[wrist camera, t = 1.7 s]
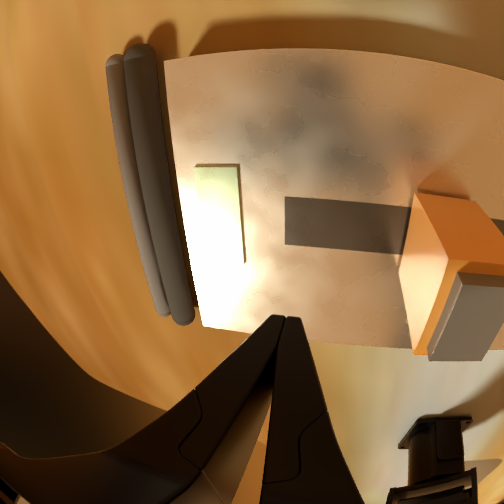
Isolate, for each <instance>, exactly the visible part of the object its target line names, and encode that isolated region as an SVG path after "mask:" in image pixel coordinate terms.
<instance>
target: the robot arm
mask: <svg viewBox="0 0 504 504" xmlns="http://www.w3.org/2000/svg"><path fill="white" fill-rule="evenodd" d="M195 389H196V390H195ZM195 389H193V390H192V391H191V392H190V393H188V394H187V395H186V396H185V397H184V398H183V399H182V400H181V401H179V402H178V403H177V404H176V405H175V406H173V407H172V408H171V409H170V410H168V411H167V412H166V413H164V414H163V415H162V416H160V417H159V418H158V419H156V420H155V421H153V422H152V423H150V424H149V425H147V426H146V427H144V428H143V429H141V430H140V431H138V432H137V433H135V434H134V435H132V436H131V437H129V438H128V439H126V440H124V441H123V442H121V443H119V444H118V445H116V446H114V447H112V448H109V449H107V450H104V451H100V452H95V453H89V454H82V455H74V456H66V457H57V458H47V459H29V458H23V457H21V456H18V455H17V454H16V453H14V452H13V451H12V450H11V449H10V448H8V447H7V446H6V445H5V444H3V443H0V504H231V503H232V500H233V498H234V496H235V493H236V491H237V489H238V486H239V484H240V481H241V479H242V477H243V474H244V471H245V469H246V467H247V464H248V462H249V459H250V457H251V454H252V452H253V449H254V446H255V444H256V441H257V439H258V436H259V433H260V431H261V428H262V425H263V423H264V420H265V417H266V415H267V412H268V409H269V406H270V404H271V411H270V421H269V430H268V439H267V448H266V456H265V464H264V473H263V481H262V489H261V495H260V502H259V504H365V503H364V501H363V499H362V497H361V495H360V493H359V491H358V489H357V486H356V484H355V482H354V480H353V477H352V475H351V473H350V471H349V468H348V466H347V464H346V462H345V459H344V457H343V455H342V452H341V450H340V447H339V445H338V442H337V439H336V436H335V433H334V430H333V427H332V423H331V420H330V416H329V413H328V412H327V406H326V402H325V399H324V395H323V392H322V388H321V384H320V381H319V377H318V374H317V370H316V367H315V363H314V360H313V357H312V353H311V350H310V346H309V343H308V339H307V336H306V333H305V329H304V326H303V323H302V319H301V318H300V317H295V316H287V317H285V316H284V315H277V314H272V315H270V316H269V317H268V318H267V319H266V320H265V321H264V322H263V323H262V324H261V325H260V326H259V327H258V328H257V329H256V330H255V331H254V332H253V333H252V334H251V335H250V336H249V337H248V338H247V339H246V340H245V341H244V342H243V343H242V344H241V345H240V346H239V347H238V348H237V349H236V350H235V351H234V352H232V353H231V354H230V355H229V356H228V357H227V358H226V359H225V360H224V361H223V362H222V363H221V364H220V365H219V366H218V367H217V368H216V369H215V370H214V371H212V372H211V373H210V374H209V375H208V376H207V377H206V378H205V379H204V380H203V381H202V382H201V383H200V384H198V385H197V386H196V387H195ZM271 401H272V402H271ZM472 421H473V420H472V417H458V418H439V419H419V420H417V421H416V422H415V423H414V425H413V426H412V427H411V429H410V430H409V431H408V433H407V434H406V435H405V436H404V438H403V439H402V440H401V442H400V443H399V444H398V449H409V459H408V486H405V487H399V488H396V487H395V488H390V492H389V493H388V496H387V501H386V504H478V486H477V471H476V467H475V468H472V469H471V470H468V471H465V466H464V446H463V436H462V432H463V431H464V430H465V429H466V428H467V427H468V426H469V425H470V424H471V423H472ZM470 485H472V488H469V489H466V490H465V487H466V486H470Z"/></svg>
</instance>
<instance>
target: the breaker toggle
mask: <svg viewBox="0 0 504 504" xmlns="http://www.w3.org/2000/svg"><path fill="white" fill-rule="evenodd" d="M398 273H399V278H400V282H401V287H402V292H403V297H404V302H405V308H406V313H407V319H408V325H409V331H410V337H411V344H412V351H413V355H428V359H429V361H482V359H483V358H484V356H485V354H486V353H487V351H488V349H489V348H490V346H491V344H492V342H493V341H494V339H495V337H496V335H497V334H498V332H499V330H500V328H501V326H502V324H503V323H504V235H503V234H502V233H501V232H500V230H499V229H498V228H497V226H496V225H495V224H494V223H493V222H492V220H491V219H490V218H489V217H488V215H487V214H486V213H485V212H484V211H483V209H482V208H481V207H480V206H479V205H478V204H477V202H476V201H471V200H465V199H459V198H452V197H445V196H438V195H431V194H423V193H415V192H414V198H413V204H412V210H411V215H410V221H409V226H408V231H407V236H406V241H405V246H404V251H403V255H402V260H401V264H400V268H399V272H398Z"/></svg>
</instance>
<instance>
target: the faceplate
mask: <svg viewBox="0 0 504 504" xmlns="http://www.w3.org/2000/svg"><path fill="white" fill-rule="evenodd" d="M164 71H165V82H166V92H167V102H168V111H169V120H170V129H171V137H172V145H173V153H174V160H175V167H176V175H177V182H178V188H179V195H180V202H181V208H182V214H183V220H184V226H185V232H186V238H187V244H188V250H189V255H190V261H191V266H192V272H193V277H194V282H195V287H196V292H197V297H198V302H199V307H200V312H201V317H202V322H203V326H208V327H214V328H220V329H226V330H233V331H239V332H246V333H253V332H254V331H255V330H256V329H257V328H258V327H259V326H260V325H261V324H262V323H263V322H264V321H265V320H266V319H267V318H268V317H269V316H270V315H272V314H277V315H284V316H285V317H287V316H295V317H300V318H301V319H302V323H303V326H304V329H305V333H306V336H307V339H308V341H317V342H327V343H337V344H349V345H361V346H375V347H391V348H410V349H412V344H411V337H410V331H409V325H408V319H407V313H406V308H405V302H404V297H403V292H402V287H401V282H400V278H399V273H398V272H399V268H400V264H401V260H402V255H403V251H404V246H405V241H406V236H407V231H408V226H409V221H410V215H411V210H412V204H413V198H414V192H415V193H423V194H431V195H438V196H445V197H452V198H459V199H465V200H471V201H476V202H477V204H478V205H479V206H480V207H481V208H482V209H483V211H484V212H485V213H486V214H487V215H488V217H489V218H490V219H491V220H492V222H493V223H494V224H495V225H496V226H497V228H498V229H499V230H500V232H501V233H502V234H503V235H504V80H502V79H498V78H495V77H492V76H489V75H486V74H482V73H479V72H475V71H471V70H468V69H464V68H460V67H456V66H452V65H447V64H443V63H438V62H433V61H428V60H423V59H417V58H412V57H405V56H399V55H392V54H384V53H376V52H366V51H355V50H340V49H316V48H280V49H256V50H242V51H230V52H220V53H212V54H204V55H196V56H189V57H183V58H177V59H171V60H166V61H164ZM502 349H504V323H503V324H502V326H501V328H500V330H499V332H498V334H497V335H496V337H495V339H494V341H493V342H492V344H491V346H490V348H489V349H488V350H502Z"/></svg>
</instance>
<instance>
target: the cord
mask: <svg viewBox="0 0 504 504" xmlns="http://www.w3.org/2000/svg"><path fill="white" fill-rule="evenodd" d="M106 76H107V85H108V93H109V101H110V109H111V116H112V123H113V129H114V136H115V142H116V148H117V153H118V159H119V164H120V170H121V175H122V180H123V185H124V190H125V194H126V199H127V203H128V208H129V212H130V217H131V221H132V225H133V229H134V233H135V237H136V241H137V245H138V249H139V253H140V257H141V260H142V264H143V268H144V271H145V275H146V278H147V282H148V285H149V289H150V292H151V295H152V299H153V302H154V305H155V309H156V311H157V313H158V314H159V315H160V316H162V317H167V316H169V315H170V314H171V315H172V318H173V320H174V321H175V322H176V323H177V324H179V325H182V326H185V325H189V324H190V323H191V322H193V320H194V318H195V310H194V305H193V301H192V296H191V291H190V287H189V282H188V277H187V272H186V267H185V262H184V257H183V251H182V246H181V241H180V235H179V230H178V224H177V218H176V212H175V206H174V200H173V194H172V188H171V181H170V175H169V168H168V161H167V154H166V147H165V139H164V131H163V123H162V115H161V106H160V97H159V87H158V77H157V65H156V55H155V52H154V50H153V48H152V47H151V46H149V45H147V44H142V43H140V44H136V45H133V46H132V47H130V48H129V49H128V50H127V52H126V53H125V55H121V54H115V55H112V56H111V57H110V58H109V59H108V60H107V62H106Z"/></svg>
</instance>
